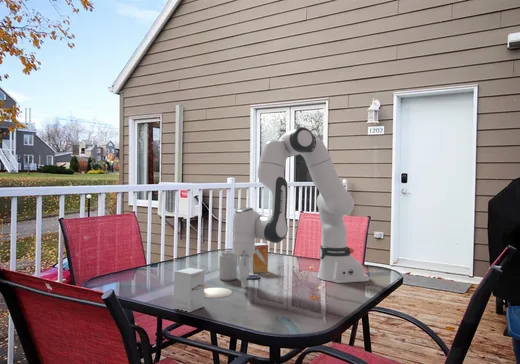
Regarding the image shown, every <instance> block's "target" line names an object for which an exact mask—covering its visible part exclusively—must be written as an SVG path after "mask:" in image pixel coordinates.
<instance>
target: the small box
mask: <svg viewBox="0 0 520 364" xmlns="http://www.w3.org/2000/svg"><path fill="white" fill-rule="evenodd" d="M251 256H252V257H251V258H249V273H251V274H258V273H259V274H260V273H268V271H269V244H267V243H265V242H255V253H254V254H252V255H251Z"/></svg>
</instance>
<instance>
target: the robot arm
mask: <svg viewBox="0 0 520 364" xmlns="http://www.w3.org/2000/svg"><path fill="white" fill-rule="evenodd" d="M314 135H315V134H313V132H312V131H311V130H310V129H308V128H307V127H305V126H304V127H303V126H298V127H296V128H293V129H290V130H287V131H286V132H285V133H283V134H281V135H280V136H279V137H278V138H277V139H272V140H271V139H270V140H268V141H267V142H265V143H264V146H263V148H262V151H261V154H260V157H259V161H258V166H257V178H258V180H259V182H260V183H261V184H262V185H263V186H265V188H268V189H269V191H271V194H272V207H271V208H272V209H271V215H270V216H269V215H262V214H260V213H259V212H256V211H255V210H254V208H252V207H242V208H238V209H237V210H235V211H234V213H233V219H232V232H233V233H232V234H233V239H232V251H233V254H236V258H237V268H238V272H239V273H238V275H239V278H240V281H241V284H240V286H241V289H242V288H247V280H248V279H249V278H250V272H249V258H251V257H252V256H251V255H252V254H254V253H255V243H256V239H259V240H263V241H268V242H270V243H272V244H273V243H274V244H279V243H281V242H282V241H283V240H284V239H285V238H286V236H287V235H288V231H289V228H288V221H287V219H288V217H287V215H288V212H287V211H288V193H289V192H288V190H289V189H288V182H287V180H286V178H285V169H286V168H285V167H286V163H287V162H286V161H287V159H288V158H291V157H296V156H299V155H300V156H301V157H302V158H303V160H304V161H305V165H306V167H307V169H308V172H309V175H310V178H311V180H312V183H313V184H314V186H315V187H316V188H317V190H318V191H319V194H318V195H317V197H316V207H317V208H318V214H319V220H320V227H321V228H320V229H321V235H320V236H321V245H320V248H319V257H320V261H319V264H320V265H319V269H318V273H317V278H318V279H320V280H324V281H326V282H327V281H328V282H333V283H336V284H337V283H338V284H345V283H346V284H347V283H359V282H369V281H370V277H369V276H368V275H367V274H366V273H365V270H364V266H363V264H362V263H361V262H360V261H358V260H357V259H356V258H355V257H354V256H353V255H351V254H354V248H351V247H348V246H347V239H348V238H347V237H348V235H347V230H348V229H347V226H346V225H345V222H344V217H345V216H347V215H349V214H351V213H352V212H353V210H354V208H355V201H354V198H353V197H352V196H351V194H350V193H349V192H348V191H347V189H346V187H345V185H344V184H343V182H342V181H341V179H340V177H339V175H338V173H337V171H336V168H335V166H334V162H333V161H332V157H331V155H330V153H329V152H330V151H328V149H327V146H326V145H325V143H324V142H323V140H322V139H320V138H318V137H315V136H314Z"/></svg>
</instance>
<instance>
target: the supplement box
mask: <svg viewBox="0 0 520 364" xmlns="http://www.w3.org/2000/svg"><path fill="white" fill-rule="evenodd" d="M205 273H206V272H205V269H201V268H193V267H187V268H184V269H179V270H175V271H174V278H173V279H174V280H173V281H174V282H173V283H174V285H173V286H174V287H173V293H174V294H173V309H174V308H175V310H177V309H179V311H181V310H183V311H182V312H185V311H187V312H186V313H189V312H190V313H191V312H193V311H196V310H198V309H200V308H201V309H202V308H204V307H205V297H204V289H205V288H204V283H205Z"/></svg>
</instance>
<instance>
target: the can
mask: <svg viewBox="0 0 520 364" xmlns="http://www.w3.org/2000/svg"><path fill="white" fill-rule="evenodd" d="M237 269H238V259H237V258H236V254H233V250H224V251H221V252H220V254H219V278H220V279H221V281H224V282H225V281H226V282H227V281H229V282H230V281H234V280H235V279H236V278H237V277H238V275H237V274H238V270H237Z"/></svg>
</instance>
